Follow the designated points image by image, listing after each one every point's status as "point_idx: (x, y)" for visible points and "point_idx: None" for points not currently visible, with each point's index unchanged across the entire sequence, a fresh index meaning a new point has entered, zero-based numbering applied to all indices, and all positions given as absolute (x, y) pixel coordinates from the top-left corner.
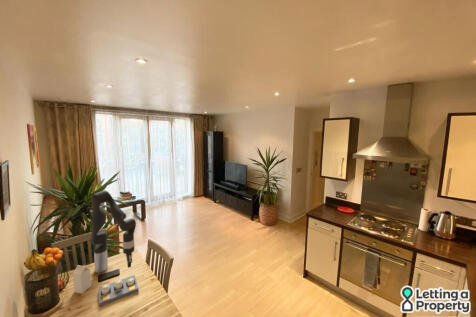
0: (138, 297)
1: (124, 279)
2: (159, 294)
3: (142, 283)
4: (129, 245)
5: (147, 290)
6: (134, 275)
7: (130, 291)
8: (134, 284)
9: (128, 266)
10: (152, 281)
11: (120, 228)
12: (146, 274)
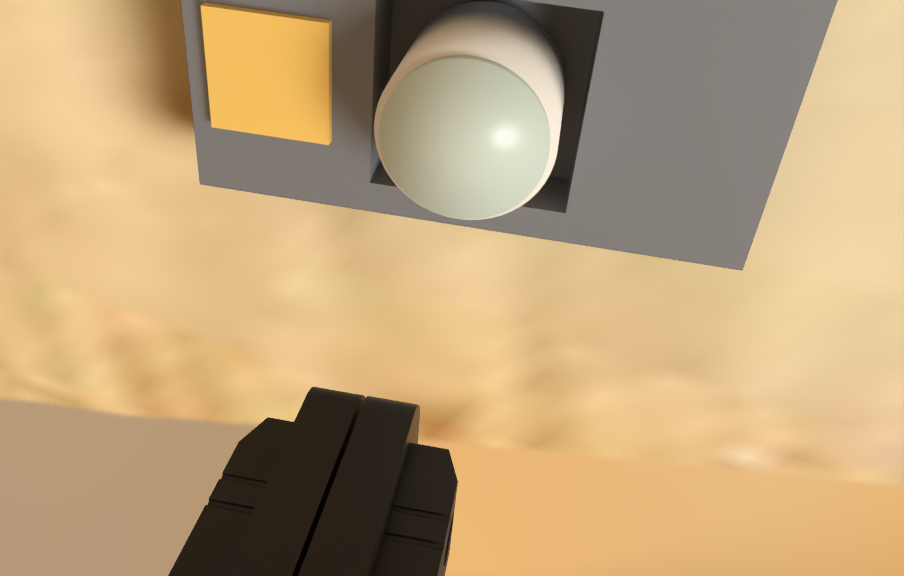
0: (79, 95)
1: (776, 14)
2: (14, 358)
3: (439, 273)
4: None
5: (191, 270)
6: (723, 257)
7: (186, 15)
8: None
9: (250, 454)
10: None
11: None
12: (659, 409)
